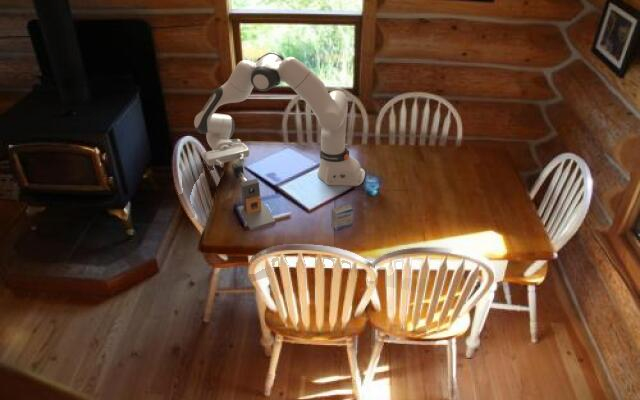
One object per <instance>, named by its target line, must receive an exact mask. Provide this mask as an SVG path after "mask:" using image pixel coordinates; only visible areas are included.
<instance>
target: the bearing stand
mask: <svg viewBox="0 0 640 400" xmlns="http://www.w3.org/2000/svg"><path fill="white" fill-rule="evenodd" d="M240 189H241V190H240V192H241V199H242V205H239V206H237V210H238V209H239V211H240V212H241V214H242V216H243V217H244V219H245V221H246V222H247V224H248V225H247V224H246V225H247V227H248V229H249V230H250V232H252V231H256V230H259V229H262V228H265V227H268V226H273V225H276V223H277V222H276V219H275V218H274V217H273V215H272V213H271V211H269V209H268V208H267V206H266V205H265V203H264V202H263V200H261V210H260V211H257V212H253V213H250V214H248V213H247V210H246V200H245V199H248V198H251V197H255V196H258V195H259V196H260V197H261V192H260V191H261V190H260V182H259V181H258V179H257V178H253V179H250V180H247V181H246V182H240ZM249 189H251V190H249ZM254 206H256V202H255V203H251V207H254ZM239 211H238V212H239ZM240 212H239V213H240ZM241 214H240V215H241ZM242 216H241V217H242ZM243 217H242V218H243ZM244 219H243V220H244ZM245 221H244V222H245ZM246 222H245V223H246Z"/></svg>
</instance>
